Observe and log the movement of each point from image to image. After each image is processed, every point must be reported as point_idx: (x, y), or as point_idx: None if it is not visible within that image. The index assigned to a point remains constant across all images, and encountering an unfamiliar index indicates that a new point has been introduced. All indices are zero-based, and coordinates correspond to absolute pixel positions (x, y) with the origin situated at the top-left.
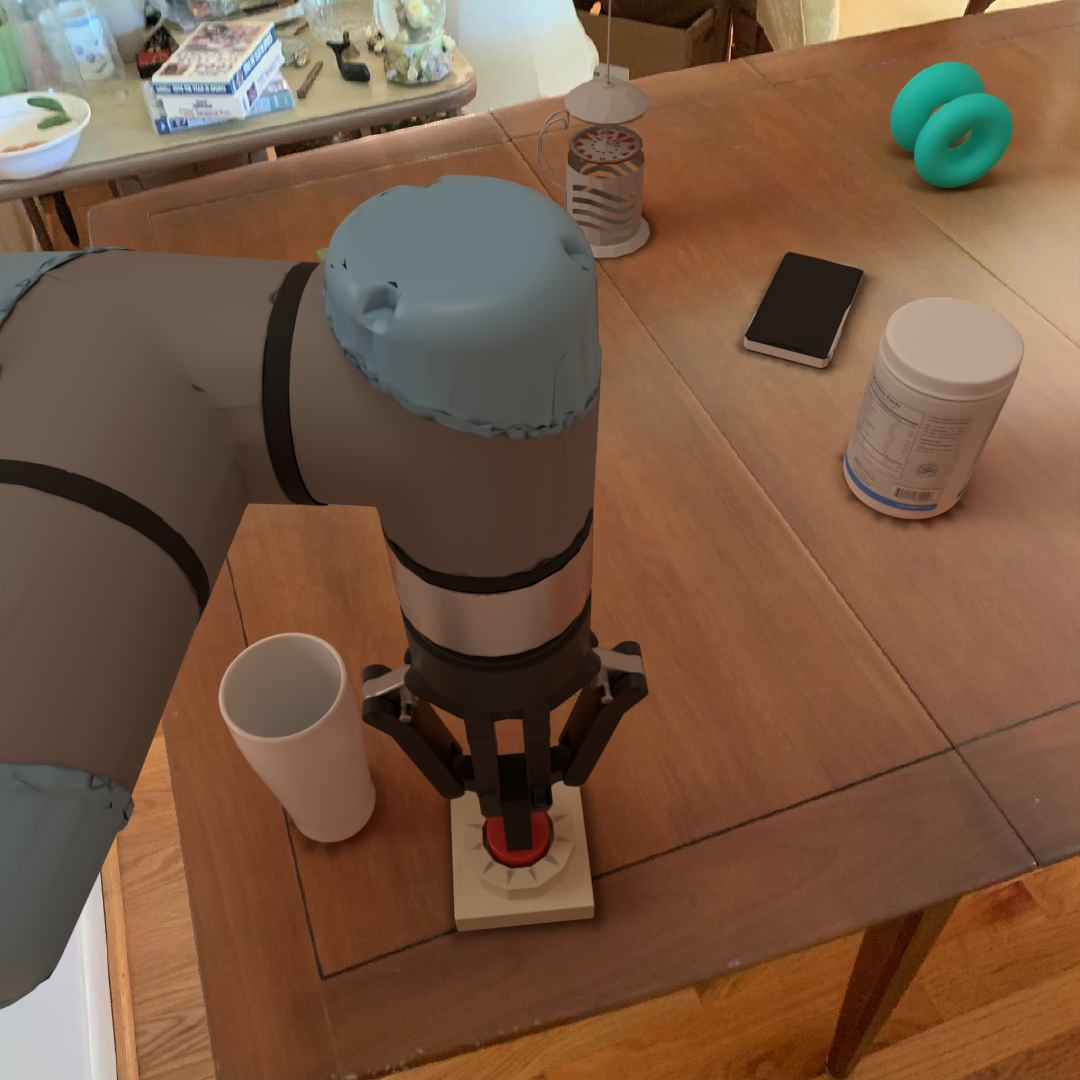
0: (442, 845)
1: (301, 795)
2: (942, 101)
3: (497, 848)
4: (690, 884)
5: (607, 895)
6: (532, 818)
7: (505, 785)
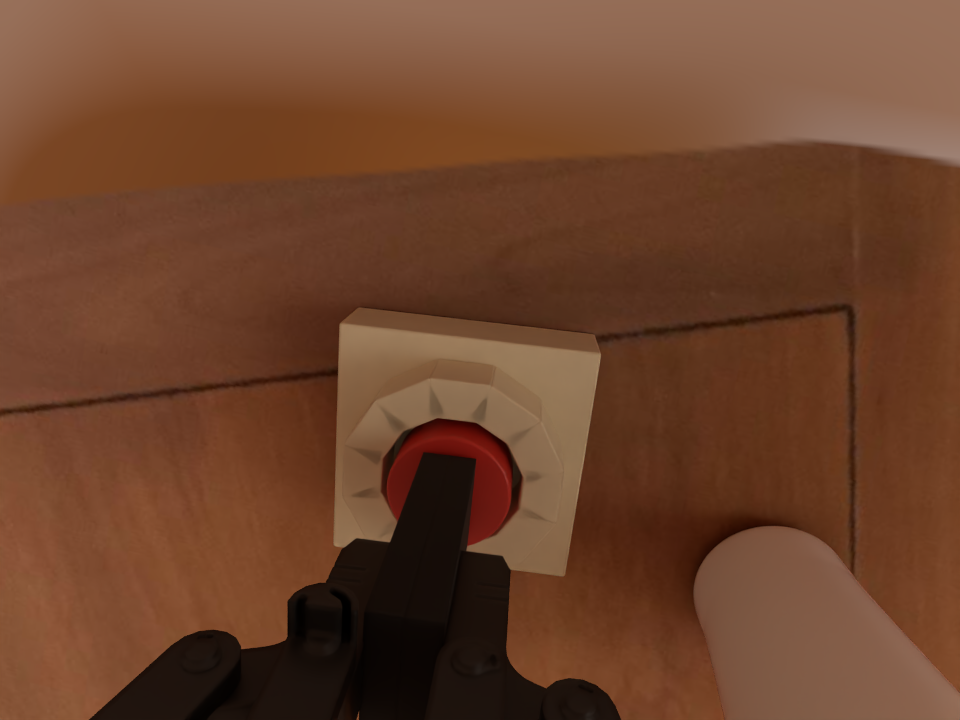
0: (593, 478)
1: (930, 703)
2: None
3: (495, 467)
4: (186, 326)
5: (328, 338)
6: None
7: (424, 662)
